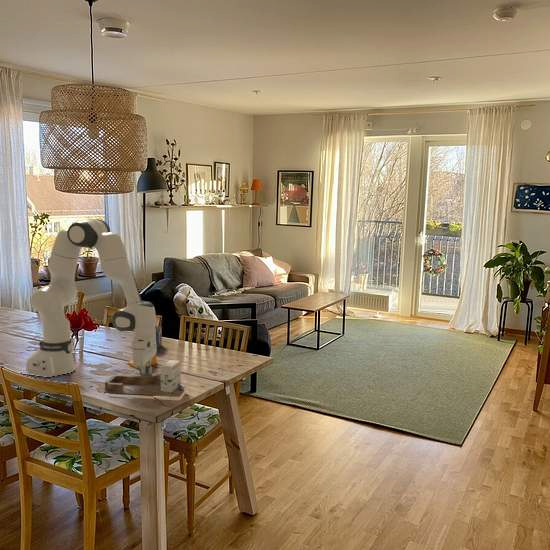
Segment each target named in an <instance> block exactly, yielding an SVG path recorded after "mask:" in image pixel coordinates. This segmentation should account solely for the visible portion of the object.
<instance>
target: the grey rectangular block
mask: <svg viewBox="0 0 550 550" xmlns="http://www.w3.org/2000/svg"><path fill="white" fill-rule="evenodd" d="M145 368H146V373H145V374H143V373H141V368H139V374H140V376H152V374H153V365H150V366H149V362H147V363H146V366H145Z"/></svg>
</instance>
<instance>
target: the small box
mask: <svg viewBox="0 0 550 550" xmlns="http://www.w3.org/2000/svg"><path fill="white" fill-rule="evenodd" d="M162 328H163V326H162V325H160V326H159V325H155V330H156V347H157V351H158V350H159V349H160V348H161V347H162V342H163V338H162V336H163V335H162V333H163V332H162Z"/></svg>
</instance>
